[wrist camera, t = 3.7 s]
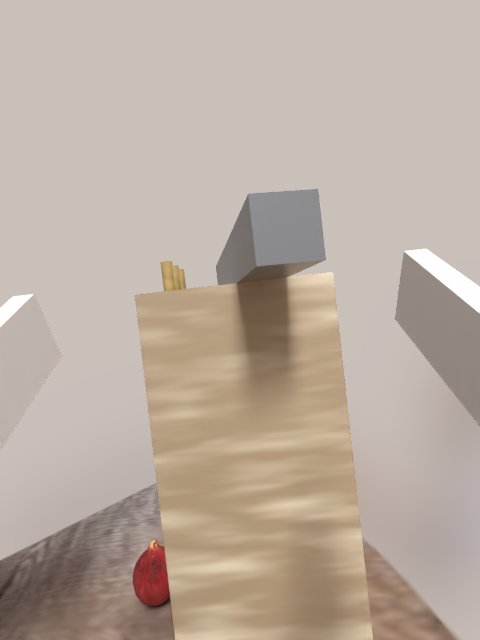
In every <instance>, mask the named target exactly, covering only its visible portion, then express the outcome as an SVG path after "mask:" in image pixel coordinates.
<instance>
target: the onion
mask: <svg viewBox="0 0 480 640" xmlns="http://www.w3.org/2000/svg"><path fill="white" fill-rule="evenodd" d="M158 543H159V542H158V541H157V540H154V539H153V540H152V541H151V542H150V544H149V547H148V549H147V550H146V551H145V552H144V553H143V554H142V555H141V556H140V558H139V559H138V561H137V563H136V565H135V568H134V573H133V586H134V590H135V593H136V595H137V597H138V598H139V599H140V600H141V601H142V602H143V603H145V604H147V605H152V606H156V605H161V604H162V603H164V602H165V601H167V600H168V598H169V597H170V590H169V582H168V573H167V565H166V556H165V548H164V547H163V546H159V545H158Z"/></svg>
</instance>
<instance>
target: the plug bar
mask: <svg viewBox="0 0 480 640" xmlns="http://www.w3.org/2000/svg"><path fill="white" fill-rule="evenodd" d="M324 260H326V258H325V249H324V239H323V231H322V221H321V212H320V203H319V194H318V189H313V190H299V191H284V192H269V193H254V194H248V196H247V198H246V200H245V203H244V205H243V207H242V209H241V211H240V214H239V216H238V218H237V221H236V223H235V225H234V227H233V230H232V232H231V234H230V236H229V239H228V241H227V243H226V246H225V248H224V250H223V252H222V254H221V257H220V259H219V261H218V263H217V266H216V270H217V279H218V285H225V284H234V283H243V282H251V281H260V280H269V279H277V278H286V277H289V276H291V275H293V274H295V273H298V272H300V271H302V270H304V269H306V268H309V267H311V266H313V265H315V264H318V263H320V262H322V261H324Z"/></svg>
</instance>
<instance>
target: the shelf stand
mask: <svg viewBox="0 0 480 640" xmlns="http://www.w3.org/2000/svg"><path fill="white" fill-rule="evenodd" d="M161 269H162V277H163V286H164V292H156V293H147V294H139V295H135V301H136V310H137V318H138V326H139V335H140V344H141V352H142V360H143V369H144V378H145V386H146V394H147V403H148V411H149V420H150V429H151V437H152V446H153V454H154V462H155V471H156V480H157V488H158V497H159V505H160V514H161V522H162V531H163V539H164V548H165V556H166V565H167V573H168V582H169V590H170V599H171V607H172V616H173V624H174V633H175V640H373V636H372V626H371V617H370V608H369V599H368V590H367V581H366V571H365V562H364V553H363V544H362V535H361V527H360V516H359V508H358V498H357V489H356V480H355V471H354V462H353V453H352V443H351V434H350V426H349V416H348V406H347V397H346V388H345V379H344V369H343V360H342V351H341V343H340V333H339V324H338V314H337V306H336V297H335V287H334V278H333V272H330V273H321V274H312V275H303V276H295V277H286V278H277V279H269V280H260V281H251V282H243V283H234V284H225V285H217V286H208V287H199V288H191V289H186V286H185V277H184V270H183V269H179V268H178V266H172V262H171V261H164V262H161Z"/></svg>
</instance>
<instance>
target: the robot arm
mask: <svg viewBox="0 0 480 640" xmlns="http://www.w3.org/2000/svg"><path fill="white" fill-rule="evenodd" d="M395 320H396V321H397V322H398V323H399V324H400V326H401V327H402V329H403V330H404V331H405V332H406V334H407V335H408V336H409V337H410V339H411V340H412V341H413V342H414V343H415V345H416V346H417V348H418V349H419V350H420V351H421V352H422V354H423V355H424V356H425V358H426V359H427V360H428V361H429V363H430V364H431V365H432V366H433V368H434V369H435V370H436V371H437V373H438V374H439V375H440V377H441V378H442V379H443V380H444V382H445V383H446V384H447V385H448V387H449V388H450V389H451V390H452V392H453V393H454V394H455V396H456V397H457V398H458V399H459V401H460V402H461V403H462V404H463V406H464V407H465V408H466V409H467V411H468V412H469V413H470V415H471V416H472V417H473V418H474V420H475V421H476V422H477V423H478V425H479V426H480V287H479V286H478V285H476V284H475V283H473V282H472V281H471V280H469V279H468V278H466V277H465V276H464V275H462V274H461V273H459V272H458V271H457V270H455V269H454V268H452V267H451V266H450V265H448V264H447V263H445V262H444V261H443V260H441V259H440V258H439V257H437V256H436V255H434V254H433V253H431V252H430V251H429V250H427V249H419V250H411V251H404V255H403V262H402V269H401V277H400V285H399V292H398V300H397V307H396V315H395ZM61 357H62V354H61V352H60V350H59V348H58V346H57V344H56V341H55V339H54V337H53V335H52V332H51V330H50V328H49V326H48V324H47V322H46V320H45V317H44V315H43V313H42V311H41V308H40V306H39V304H38V302H37V300H36V297H35V295H34V294H31V295H23V296H13V297H12V298H11V299H10V300H9V301H8V302H6V303H5V304H4V305H3V306H2V307H1V308H0V450H1V448H2V447H3V445H4V444H5V442H6V441H7V439H8V438H9V436H10V435H11V433H12V432H13V430H14V428H15V427H16V426H17V424H18V422H19V421H20V419H21V418H22V416H23V415H24V413H25V412H26V410H27V409H28V407H29V406H30V404H31V403H32V401H33V400H34V398H35V396H36V395H37V393H38V392H39V390H40V389H41V387H42V386H43V384H44V383H45V381H46V379H47V378H48V377H49V375H50V373H51V372H52V371H53V369H54V367H55V366H56V364H57V363H58V361H59V360H60V358H61Z"/></svg>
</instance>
